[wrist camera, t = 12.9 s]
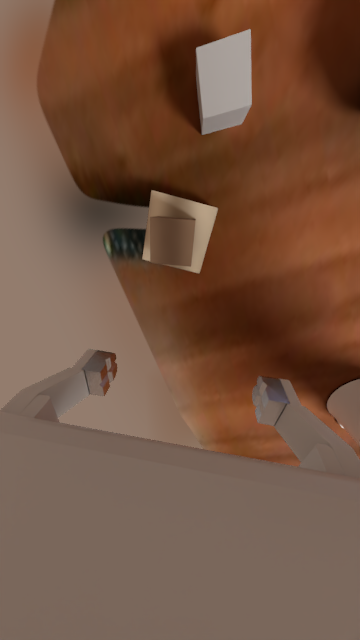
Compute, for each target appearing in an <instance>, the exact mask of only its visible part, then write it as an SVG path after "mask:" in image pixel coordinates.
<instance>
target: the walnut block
mask: <svg viewBox="0 0 360 640" xmlns="http://www.w3.org/2000/svg"><path fill="white" fill-rule="evenodd" d="M195 222H196V219H189V218H177V217H164V216H155V217H150V263H155V264H166V265H178V266H189V267H191V263H192V253H193V243H194V232H195Z"/></svg>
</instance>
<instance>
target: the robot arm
mask: <svg viewBox="0 0 360 640" xmlns="http://www.w3.org/2000/svg"><path fill="white" fill-rule="evenodd" d="M115 360H116V355H115V353H111V352H105V351H99V350H93V349H89V350H87V351H86V352H85V353H84V354H83V356H82V357H81V358H80V359H79V360H78V361H77V363H76V364H75V365H74V366H73V367H72V368H68V369H66V370H63V371H61V372H59V373H57V374H55V375H53V376H50V377H48V378H46V379H44V380H42V381H40V382H38V383H35V384H33V385H31V386H29V387H27V388H25V389H22V390H21V391H20V392H19V393H18V394H17V395H16V396H15V397H14V398H12V399H11V400H10V401H9V402H8V403H7V404H6V405H5V406H4V407H3V408H2V409H1V410H0V640H360V460H359V458H358V456H357V455H356V453H355V451H354V450H353V448H351V447H350V446H349V445H348V444H347V443H346V442H345V441H343V440H342V439H341V438H340V437H339V436H338V435H337V434H335V433H334V432H333V431H332V430H331V429H330V428H329V427H327V426H326V425H325V424H324V423H323V422H322V421H321V420H319V419H318V418H317V417H316V416H315V415H314V414H313V413H311V412H310V411H309V410H308V409H307V408H306V407H304V406H301V403H300V401H299V399H298V397H297V395H296V393H295V391H294V389H293V387H292V385H291V382H290V381H289V380H286V379H278V378H271V377H264V376H259V377H258V379H257V385H256V386H254V389H253V394H252V399H253V404H254V405H255V406H256V407H257V408H256V410H255V413H256V417H257V422H258V423H261V424H266V425H271V426H275V429H276V430H277V431H278V432H279V434H280V435H281V436H282V438H283V439H284V440H285V442H286V443H287V444H288V446H289V447H290V448H291V450H292V451H293V452H294V454H295V455H296V456H297V458H298V459H299V460H300V461H301V464H300V465H299V466H298V467H296V466H291V465H285V464H280V463H275V462H269V461H264V460H259V459H253V458H248V457H242V456H237V455H232V454H226V453H221V452H215V451H210V450H205V449H199V448H194V447H188V446H183V445H177V444H172V443H167V442H161V441H156V440H151V439H145V438H139V437H134V436H129V435H124V434H118V433H113V432H108V431H102V430H97V429H92V428H86V427H81V426H75V425H70V424H65V423H60V422H59V420H58V417H60V416H61V415H63V414H64V413H65V412H67V411H68V410H69V409H71V408H72V407H74V406H75V405H76V404H78V403H79V402H80V401H82V400H83V399H84V398H86V397H87V396H88V395H89V394H93V395H100V396H105V394H106V392H107V391H108V389H109V387H110V385H109V383H110V382H111V381H113V380H114V378H115V375H116V372H117V364H116V363H115V362H114V361H115ZM327 409H328V411H329V413H330V414H331V415H332V416H333V417H334V418H335V419H336V420H337V422H338V424H339V425H340V426H341V427H342V428H345V430H346V431H347V432H348V433H349V435H350V436H351V437H352V438H353V439H354V440H355V442H356V443H357V444H358V445H359V446H360V379H358V380H354V381H352V382H349V383H347V384H345V385H343V386H341V387H340V388H338V389H337V390H336V391H335V392H334V393H333V394H332V395H331V396H330V397H329V399H328V402H327Z"/></svg>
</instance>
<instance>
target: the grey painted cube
mask: <svg viewBox="0 0 360 640" xmlns="http://www.w3.org/2000/svg"><path fill="white" fill-rule="evenodd" d="M196 84H197V94H198V103H199V113H200V122H201V132H202V135H204V134H207V133H211V132H215V131H218V130H222V129H225V128H229V127H233V126H236V125H240V124H242V122H243V121H244V119H245V117H246V115H247V113H248V111H249V109H250V107H251V105H252V94H251V29H249V30H246V31H243V32H241V33H238V34H235V35H232V36H229V37H226V38H223V39H220V40H217V41H215V42H212V43H209V44H206V45H203V46H200V47H197V48H196Z"/></svg>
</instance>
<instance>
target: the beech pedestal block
mask: <svg viewBox="0 0 360 640" xmlns="http://www.w3.org/2000/svg"><path fill="white" fill-rule="evenodd" d="M217 211H218V208H216V207H213V206H209V205H205V204H201V203H198V202H194V201H190V200H187V199H183V198H179V197H176V196H172V195H168V194H164V193H161V192H157V191H153V190H151V198H150V205H149V213H148V220H147V228H146V235H145V243H144V250H143V258H142V259H144V260H148V261H150V217H155V216H164V217H177V218H189V219H196V222H195V232H194V243H193V253H192V263H191V267H189V266H178V265H167V266H171V267H175V268H179V269H183V270H187V271H191V272H195V273H199V274H200V270H201V267H202V263H203V260H204V256H205V253H206V249H207V246H208V242H209V239H210V235H211V232H212V228H213V225H214V221H215V218H216V214H217ZM163 265H166V264H163Z"/></svg>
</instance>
